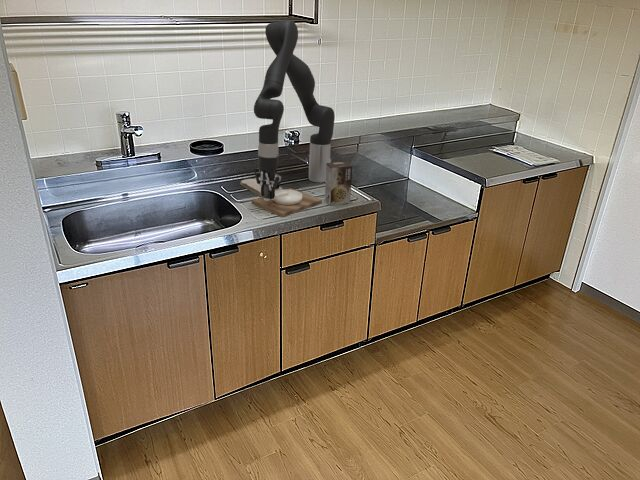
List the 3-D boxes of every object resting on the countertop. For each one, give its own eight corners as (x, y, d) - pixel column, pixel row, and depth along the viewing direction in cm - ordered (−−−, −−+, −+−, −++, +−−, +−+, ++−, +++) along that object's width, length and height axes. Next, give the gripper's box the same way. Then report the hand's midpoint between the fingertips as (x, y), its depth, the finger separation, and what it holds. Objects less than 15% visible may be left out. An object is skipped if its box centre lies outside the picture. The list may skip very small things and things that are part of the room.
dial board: (290, 191, 222) (290, 187, 222) (321, 203, 212) (322, 199, 211) (251, 203, 207) (251, 199, 207) (283, 217, 197) (283, 213, 196)
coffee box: (344, 198, 218) (346, 161, 211) (350, 203, 213) (353, 165, 206) (323, 200, 215) (326, 162, 208) (329, 205, 210) (332, 167, 203)
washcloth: (261, 181, 234) (261, 174, 233) (284, 193, 222) (284, 186, 220) (238, 185, 227) (238, 178, 226) (260, 198, 215) (260, 191, 213)
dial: (288, 192, 216) (289, 173, 213) (308, 200, 209) (309, 181, 205) (254, 201, 205) (254, 181, 202) (274, 210, 198) (274, 190, 194)
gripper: (248, 151, 195) (248, 194, 202) (274, 160, 187) (273, 204, 194) (263, 147, 200) (262, 190, 207) (288, 156, 192) (287, 200, 199)
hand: (267, 197), depth 201 cm, fingers open, 3 cm apart
